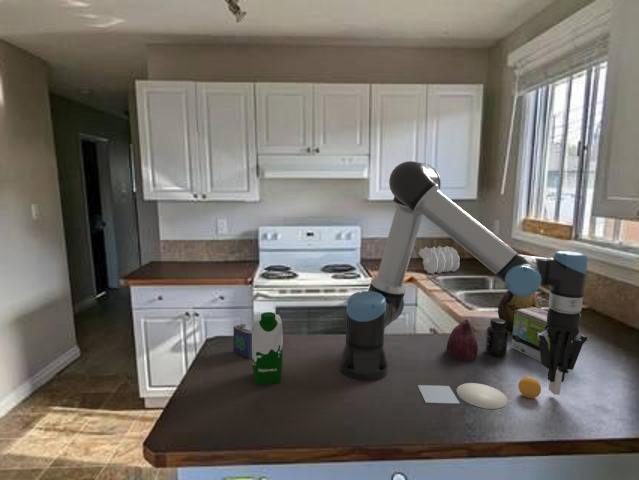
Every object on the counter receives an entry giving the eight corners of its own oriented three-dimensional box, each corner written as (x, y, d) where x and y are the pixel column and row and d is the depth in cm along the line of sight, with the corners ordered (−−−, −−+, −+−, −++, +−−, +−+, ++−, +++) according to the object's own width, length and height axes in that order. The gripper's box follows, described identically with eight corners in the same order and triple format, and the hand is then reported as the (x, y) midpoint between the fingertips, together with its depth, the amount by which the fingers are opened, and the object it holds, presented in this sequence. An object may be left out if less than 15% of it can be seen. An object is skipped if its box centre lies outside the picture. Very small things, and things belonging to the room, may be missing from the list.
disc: (466, 408, 102) (466, 407, 102) (450, 383, 115) (450, 382, 115) (516, 409, 102) (516, 408, 102) (494, 384, 115) (494, 383, 115)
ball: (523, 402, 106) (525, 382, 105) (513, 391, 112) (515, 373, 111) (544, 402, 106) (546, 383, 105) (533, 391, 112) (535, 373, 111)
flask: (255, 357, 129) (255, 326, 127) (248, 360, 127) (248, 328, 125) (237, 349, 135) (237, 319, 133) (230, 352, 132) (230, 321, 131)
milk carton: (252, 386, 111) (252, 318, 108) (251, 371, 119) (251, 307, 116) (283, 384, 112) (284, 316, 110) (280, 369, 121) (280, 306, 118)
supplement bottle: (480, 349, 140) (483, 317, 138) (499, 349, 140) (502, 316, 139) (490, 358, 133) (494, 324, 131) (510, 357, 134) (513, 323, 132)
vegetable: (477, 370, 131) (490, 333, 125) (445, 363, 133) (456, 326, 127) (473, 350, 140) (485, 315, 134) (443, 344, 142) (453, 308, 136)
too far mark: (425, 403, 104) (425, 402, 104) (417, 385, 113) (417, 385, 113) (459, 403, 104) (459, 403, 104) (448, 386, 113) (448, 385, 113)
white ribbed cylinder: (456, 278, 265) (428, 279, 254) (441, 262, 278) (413, 263, 267) (469, 256, 256) (440, 256, 245) (451, 240, 269) (423, 240, 258)
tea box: (509, 348, 141) (513, 308, 139) (529, 344, 145) (533, 305, 143) (548, 366, 128) (553, 322, 126) (569, 361, 132) (574, 319, 130)
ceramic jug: (537, 341, 148) (546, 263, 144) (493, 332, 156) (500, 258, 152) (540, 328, 162) (548, 256, 158) (499, 320, 170) (506, 252, 166)
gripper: (548, 313, 102) (537, 398, 105) (598, 315, 102) (586, 400, 105) (532, 304, 109) (523, 384, 113) (579, 305, 109) (568, 385, 113)
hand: (554, 392), depth 109 cm, fingers closed
